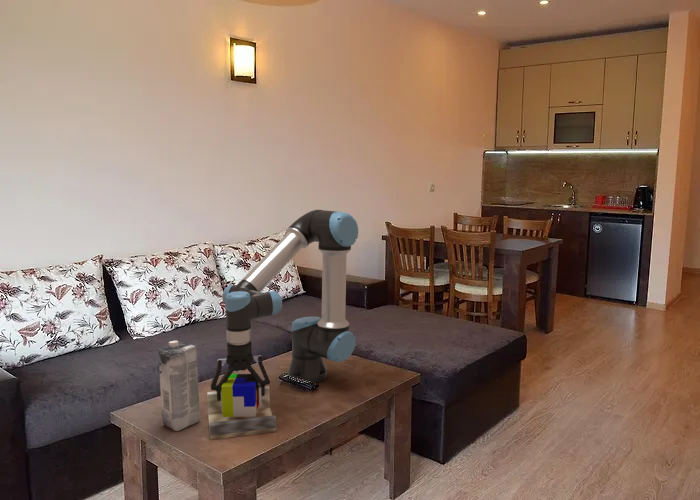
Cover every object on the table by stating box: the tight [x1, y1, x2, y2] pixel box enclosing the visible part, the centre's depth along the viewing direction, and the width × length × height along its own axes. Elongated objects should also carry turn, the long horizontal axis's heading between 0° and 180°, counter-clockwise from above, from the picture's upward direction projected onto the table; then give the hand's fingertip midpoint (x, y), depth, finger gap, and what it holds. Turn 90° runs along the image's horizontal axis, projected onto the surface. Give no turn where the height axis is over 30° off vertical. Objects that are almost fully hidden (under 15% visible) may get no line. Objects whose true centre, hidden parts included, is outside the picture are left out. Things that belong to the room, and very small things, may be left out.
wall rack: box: [206, 385, 277, 440], centre depth 186 cm, size 20×17×8 cm
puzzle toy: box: [222, 373, 259, 417], centre depth 185 cm, size 10×10×10 cm
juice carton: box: [157, 340, 200, 432], centre depth 184 cm, size 9×10×27 cm
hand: (241, 407), depth 186 cm, fingers closed on puzzle toy, 11 cm apart
